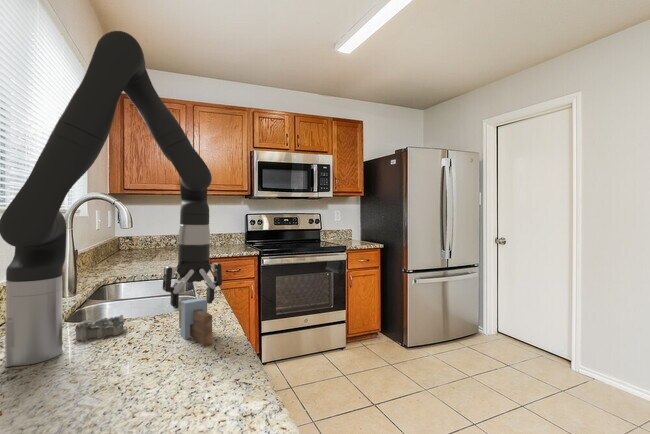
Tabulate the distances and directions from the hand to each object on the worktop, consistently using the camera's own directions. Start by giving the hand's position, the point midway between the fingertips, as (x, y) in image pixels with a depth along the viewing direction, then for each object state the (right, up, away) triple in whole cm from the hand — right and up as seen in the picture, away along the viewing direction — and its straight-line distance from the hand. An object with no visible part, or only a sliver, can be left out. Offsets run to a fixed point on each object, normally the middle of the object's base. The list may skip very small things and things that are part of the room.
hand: (193, 305), depth 86 cm
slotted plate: (0, -8, 0) cm, 8 cm away
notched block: (0, -8, 0) cm, 8 cm away
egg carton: (-25, -8, +2) cm, 26 cm away
